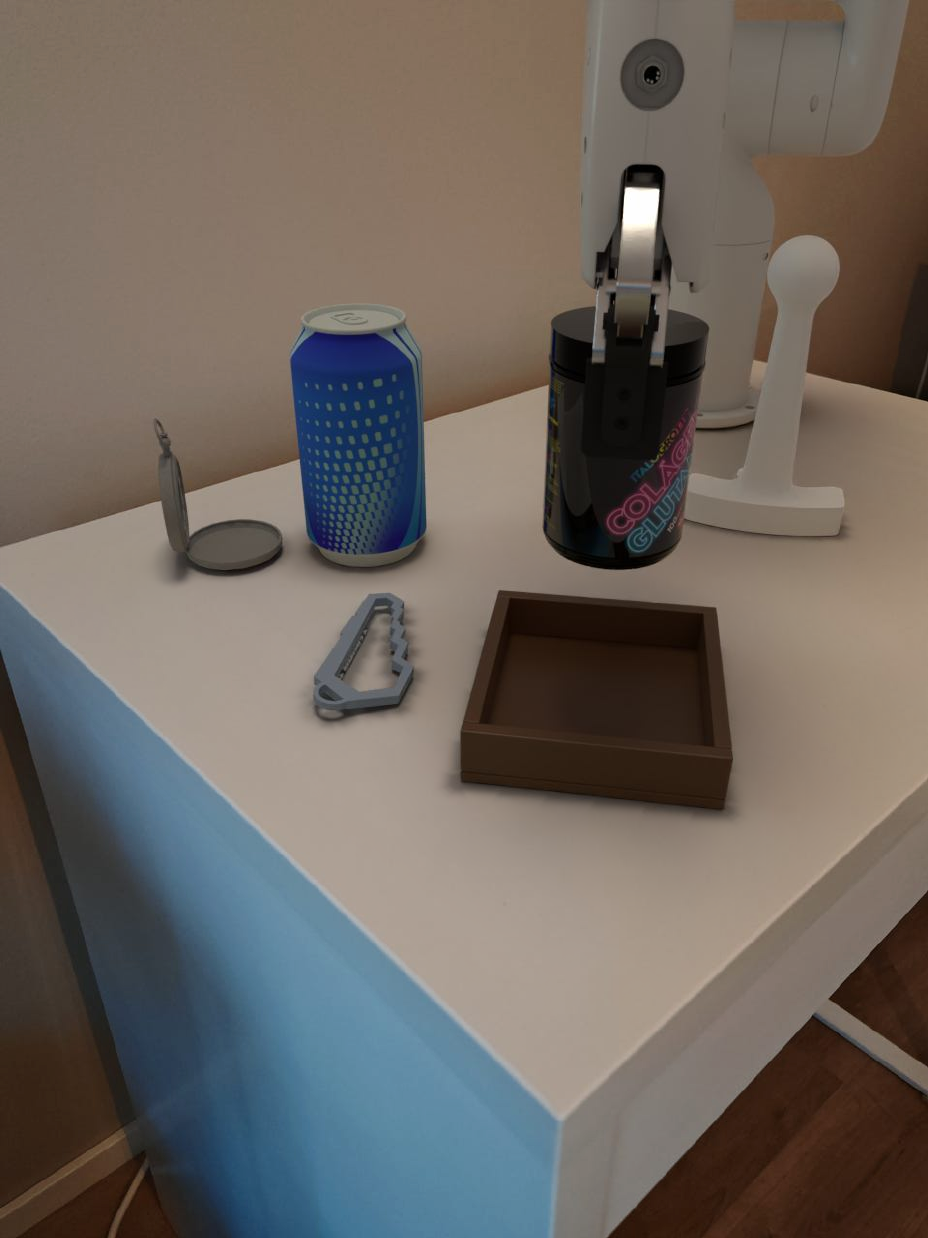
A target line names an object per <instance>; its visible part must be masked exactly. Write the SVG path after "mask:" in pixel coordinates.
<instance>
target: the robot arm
mask: <svg viewBox="0 0 928 1238" xmlns="http://www.w3.org/2000/svg"><path fill="white" fill-rule="evenodd" d="M740 1H742V2H743V1H745V2H833V3H835V4H837V6H839V7H840V8H841V9H842V11H843V13H844V20H789V19H745V20H743V19H737V20H735V12H736V11H735V8H736V7H735V6H736V0H587V3H586V21H585V39H584V54H583V55H584V56H583V57H584V59H583V61H584V62H583V79H582V81H583V82H582V100H581V101H582V105H581V107H582V108H581V125H580V126H581V127H580V162H579V228H580V230H579V232H580V233H579V235H580V270H581V271H580V272H581V273H580V274H581V275H580V276H581V280H582V281H584V283H585V284H586V285H588V286H589V287H590V288H591V289H592V290H596V303H595V304H596V305H595V306H596V315H595V327H594V340H593V352H592V358H587V361H586V374H585V390H584V405H583V421H582V436H581V451H582V453H583V454H584V455H585V456H588V457H600V458H617V459H633V460H653V459H655V458H656V457H657V455H658V453H659V445H660V436H661V427H662V418H663V409H664V400H665V390H666V381H667V372H668V362H665V361H663V359H664V348H665V337H666V326H667V315H668V309H670V310H675V311H679V312H683V313H687V314H690V315H693V316H695V317H697V318H699V319H701V320H703V321H704V322H706V323H707V325H708V326H709V336H708V343H707V351H706V359H705V361H706V364H705V369H704V371H703V376H702V384H701V391H700V399H699V407H698V414H697V422H696V429H722V428H732V427H738V426H741V425H745V424H746V425H747V424H749V423H750V422H754V420H755V416H756V411H757V407H758V402H759V398H760V392H759V391H757V390H755V389H754V388H752V387H751V385H750V384H751V378H752V372H753V371H752V370H753V365H754V359H755V352H756V346H757V340H758V334H759V333H758V332H759V327H760V319H761V314H762V308H763V302H764V294H765V287H766V283H767V271H768V266H769V263H770V256H771V249H772V243H773V238H774V234H775V233H774V231H775V225H776V224H775V223H776V209H775V205H774V200H773V198H772V195H771V193H770V191H769V189H768V187H767V185H766V184H765V183H764V181H763V179H762V178H761V176H760V175H759V173H758V171H757V170H756V168H755V167H754V166H753V164H752V159H753V158H756V157H768V156H787V157H813V158H814V157H815V158H816V157H817V158H818V157H819V158H820V157H824V158H825V157H829V158H834V157H835V158H836V157H838V158H839V157H846V156H853V155H856V154H860V153H862V152H863V151H864V150H866V149H867V148H868V147H869V146H870V145H871V144H872V143H873V142H874V141H875V139H876V138H877V136H878V134H879V132H880V130H881V127H882V124H883V122H884V119H885V116H886V112H887V109H888V104H889V102H890V101H889V100H890V97H891V92H892V87H893V82H894V78H895V73H896V68H897V63H898V58H899V53H900V48H901V43H902V38H903V34H904V29H905V23H906V19H907V14H908V9H909V5H910V0H740ZM606 354H607V357H606ZM649 356H650V358H649Z"/></svg>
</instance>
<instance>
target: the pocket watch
mask: <svg viewBox="0 0 928 1238" xmlns="http://www.w3.org/2000/svg"><path fill="white" fill-rule="evenodd" d="M158 427H159V429H160V432H159V429H158ZM153 430H154V433H155V435H156V438H157V440H158V444H159V446H160V448H161V450H162V453H160V454H159V455H158V467H157V469H158V470H157V473H158V474H157V475H158V483H159V493H160V503H161V508H162V514H163V520H164V525H165V530H166V535H167V538H168V543H169V545H170V547H171V550H172V551H173V552H178V553H182V552H184V554H186V556H187V557H188V559H189V560H190V561H191V562H192V563H194V564H196V565H197V566H199V567H203V568H207V569H209V570H220V571H221V570H222V571H228V570H241V569H247V568H251V567H254V566H258V565H260V564H262V563H265V562H267V561H269V560H270V559H272V558H273V557H274V556H276V555H277V553H279V552H280V550H281V549H282V546H283V533H282V531H281V529H279V528H278V527H277V526H275V525H274V524H272V523H270V522H267V521H264V520H257V519H256V520H255V519H249V518H239V519H229V520H223V521H218V522H213V523H211V524H208V525H205V526H202V527H200V528H199V529H197V530H195V531H194V532H193V533H191V534H190V522H189V515H188V505H187V499H186V493H185V487H184V480H183V475H182V471H181V466H180V461H179V460H178V458H177V456H176V455H174V453H173V452H172V451H171V445H172V440H171V439H170V436H168V432H166V431H165V429H164V427H163V425H162V423H161V421H160V420H159V419H158V418H153Z"/></svg>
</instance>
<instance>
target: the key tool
mask: <svg viewBox="0 0 928 1238" xmlns="http://www.w3.org/2000/svg"><path fill="white" fill-rule="evenodd" d="M377 607H387V608H389V609H390V616H391V617H390V625H389V636H390V637H391V638H390V641H389V649H390V650H391V651H392V652H394V654H393V656H392V657H391V669H392V670H394V671H395V672H396V673H397V672H398V673H399V676H398V679H397V681H396V683H395V686H393V687H386V688H378V689H377V688H376V689H370V690H362V691H359V690H358V689H356V688H354V687H353V686H351V684H348V683H347V682H345V681H344V680H343V677H344V673H343V672H342V671H344V672H347V670H348V667H349V665H350V664H351V661H352V660H353V658H354V656H355V654H356V653H357V650H358V649H359V647H360V645H361V641H362V640H363V639H364V636H366V634H367V630H368V629H365V627H366V626H367V624H368V622H369V620H370V618H371V616H372V614H373V612H374V611H375V608H377ZM404 610H405V601H404V600H403V599H401V598H399V597H398V596H396V595H395V594H393V593H392V592H377V593H368V595H367V596H366V598H365V599H364V600H362V602H361V604H360V605H359V606H358V607H357V609H356V610H355V612H354V615H351V616H350V617H349V619H348V620H347V622H346V624H345V625H344V626H343V628H342V629H341V631H340V635H339V636H340V637H339V639H338V640H337V642H336V644H335V646H334V647H332V648H331V650H330V651H329V653H328V655H326V657H325V659H324V660H323V662H322V663H321V665H320V666H319V667H318V669H317V671H316V672H315V674H314V675H313V685H315V686H314V688H313V690H312V699H313V702H314V704H315V705H316V706H317V707H318V708H320V709H323V710H326V711H331V712H332V711H341V710H344V709H346V710H352V709H353V710H354V709H363V708H370V707H381V706H390V705H399V704H400V701H401V699H402V698H403V695H404V694H405V692H406V690H407V688H408V686H409V684H410V681H411V680H412V678H413V676H414V675H415V674H414V673H415V666H414V664H412V663H410V662H409V661H407V660H406V659H405V658H406V655H407V653H408V652H409V641H407V640H405V637H406V631H407V628H406V627H405V626H404V625H402V624H401V622H402V620H403V618H404ZM341 672H342V673H341ZM323 692H324V693H325V694H326V695H327V696H329V697H330V698H331V699H333V700H328V699H326V698H323V697H322V696H321V693H323Z"/></svg>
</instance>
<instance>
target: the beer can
mask: <svg viewBox="0 0 928 1238" xmlns="http://www.w3.org/2000/svg"><path fill="white" fill-rule="evenodd" d="M406 322H407V314H406V312H405V311H403V310H402V309H400V308H398V307H394V306H392V305H391V306H390V305H385V304H377V303H362V302H361V303H360V302H359V303H358V302H357V303H340V304H339V303H338V304H332V305H326V306H321V307H317V308H313V309H310V310H308V311H306V312H305V313H303V315H301V317H300V324H301V328H300V331H299V333H298V335H297V337H296V339H295V341H294V343H293V345H292V347H291V349H290V351H289V365H290V366H289V367H290V377H291V378H290V379H291V387H292V397H293V407H294V408H293V409H294V416H295V417H294V418H295V428H296V437H297V448H298V457H299V466H300V468H299V469H300V477H301V488H302V497H303V498H302V499H303V510H304V517H305V519H304V520H305V528H306V529H305V530H306V535H307V537H308V539H309V541H310V542H311V543H312V544H313V545H315V546H316V547H317V548H318V550H319V553H321V555H322V556H323V557H325V558H326V559H327V560H329V561H331V562H333V563H336V564H338V565H343V566H347V567H353V568H372V567H379V566H380V567H381V566H385V565H389V564H394V563H396V562H398V561H401V560H403V559H405V558H406V557H408V556H409V555H411V554H412V553H413V551H414V550H415V549H416V547H417V544H418V542H419V541H420V540H421V539H422V538H423V537H424V535H425V533H426V531H427V493H426V492H427V491H426V489H427V488H426V457H425V455H426V454H425V419H424V417H425V416H424V413H425V412H424V384H423V383H424V382H423V381H424V380H423V379H424V378H423V377H424V376H423V351H422V348H421V346H420V344H419V342H418V340H417V339H416V337H415V336H414V335H413V333H412V331H411V329H410V328H409V326H408V325H407V323H406Z"/></svg>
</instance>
